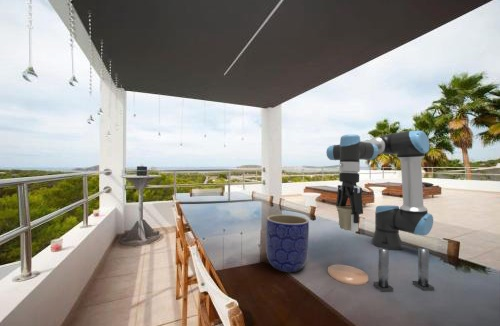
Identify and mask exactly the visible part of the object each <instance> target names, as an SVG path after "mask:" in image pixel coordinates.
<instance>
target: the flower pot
mask: <svg viewBox="0 0 500 326" xmlns="http://www.w3.org/2000/svg"><path fill="white" fill-rule="evenodd" d="M335 208H336V211H337V214H338V224H339V223H340V225H339V228H340V229H341V230H345V231H351V213H352V209H351V205H349V206H348V205H346V206H336V205H335ZM351 232H352V231H351Z"/></svg>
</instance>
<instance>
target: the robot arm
mask: <svg viewBox="0 0 500 326" xmlns="http://www.w3.org/2000/svg"><path fill="white" fill-rule="evenodd" d="M339 141H340V142H339V144H334V145H329V146H328V147H327V148H326V157H327V159H329V160H330V161H339V164H338V166H339V175H338V176H339V177H338V181H339V182H340V183H341V184H338V185H337V196H336V204H335V207H336V206H347V202H348V199H349V204H350V206H351V209H352V213H351V232H359V222H360V221H359V220H360V215H363V214H364V207H363V197H362V195H363V194H362V192H363V189H362V187H359V186H358V185H357V183H359V182H360V173H359V172H360V167H361V166H360V160H364V161H371V160H374V159H376V157H378V155H396V156H397V157H396V158H397V159H398V160H399V161H400V167H401V169H400V170H401V183H402V184H401V185H402V186H401V187H402V188H401V189H402V190H401V191H402V205H401V206H399V205H377V206H376V207H375V211H374V213H375V215H374V216H375V218H374V219H375V220H374V221H375V222H374V223H375V225H374V226H375V227H374V229H375V230H374V233H373V235H372V238H371V244H373V246H376V247H378V248H386V249H388V250H392V251H399V250H403V243H402V239H401V237H400V231H401V232H403V233H404V232H405V233H408V234H412V235H417V236H418V235H419V236H425V237H426V236H427V235H429V233H430V232H431V230H432V228H433V225H434V216H433V215H432V213H428V208H427V207H425V206H424V192H423V191H424V190H423V174H422V173H423V172H422V160H423V159H424V158H425V154H427V153H428V152H429V151H430V140H429V137H428V135H427V134H426V132H424V131H422V130H409V131H402V132H394V133H393V132H392V133H388V134H384V135H380V136H374V137H372V138H371V139H368V140H361V136H360V135H359V134H344V135H342V136H340V140H339ZM338 226H340V223H339V222H338Z"/></svg>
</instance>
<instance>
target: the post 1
mask: <svg viewBox="0 0 500 326" xmlns="http://www.w3.org/2000/svg"><path fill="white" fill-rule="evenodd" d="M389 258H390V249H386V248H381V247H378V261H377V262H378V264H377V265H378V270H377V271H378V272H377V273H378V274H377V275H378V276H377V280H378V281H373V286H374V287H375V288H376V289H378V290H379V291H380V292H381V293H386V292H387V293H389V292H394V287H393V286H391V285H389V279H390V277H389V275H390V274H389V271H390V270H389V269H390V268H389V266H390V264H389V263H390V259H389Z"/></svg>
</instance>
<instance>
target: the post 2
mask: <svg viewBox="0 0 500 326" xmlns="http://www.w3.org/2000/svg"><path fill="white" fill-rule="evenodd" d="M429 272H430V249H428V248H426V247H420V246H419V247H417V280H412V285H414V286H415V287H416V288H418V289H420V290H421V291H425V292H427V291H428V292H429V291H430V292H431V291H435V286H433V285H431V284H430V273H429Z"/></svg>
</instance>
